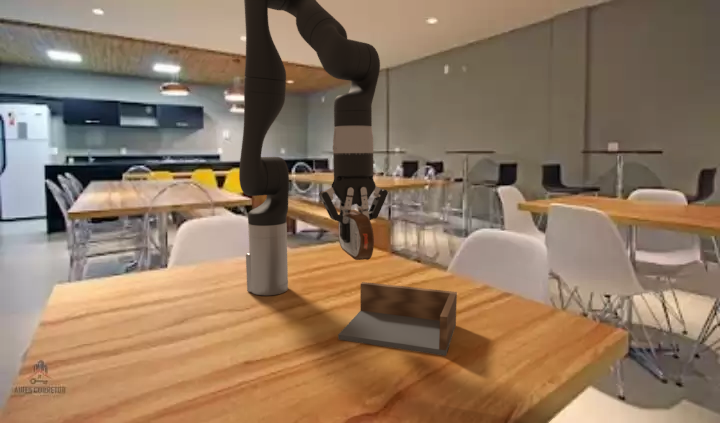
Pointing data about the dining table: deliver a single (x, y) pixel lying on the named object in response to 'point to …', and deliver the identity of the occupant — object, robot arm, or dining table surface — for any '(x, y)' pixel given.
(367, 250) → the tin
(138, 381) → the dining table surface
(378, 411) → the dining table surface
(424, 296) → the walls
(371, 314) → the mat
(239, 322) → the dining table surface
